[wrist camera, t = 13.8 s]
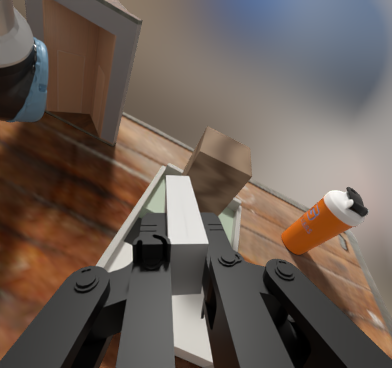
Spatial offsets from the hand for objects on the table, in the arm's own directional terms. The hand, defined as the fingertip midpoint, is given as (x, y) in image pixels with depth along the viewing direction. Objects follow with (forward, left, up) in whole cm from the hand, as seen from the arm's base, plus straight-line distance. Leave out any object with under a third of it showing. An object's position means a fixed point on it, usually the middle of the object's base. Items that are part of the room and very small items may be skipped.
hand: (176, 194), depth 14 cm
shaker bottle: (+36, +31, -26) cm, 54 cm away
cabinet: (-29, +37, -26) cm, 54 cm away
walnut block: (+5, +22, -22) cm, 31 cm away
